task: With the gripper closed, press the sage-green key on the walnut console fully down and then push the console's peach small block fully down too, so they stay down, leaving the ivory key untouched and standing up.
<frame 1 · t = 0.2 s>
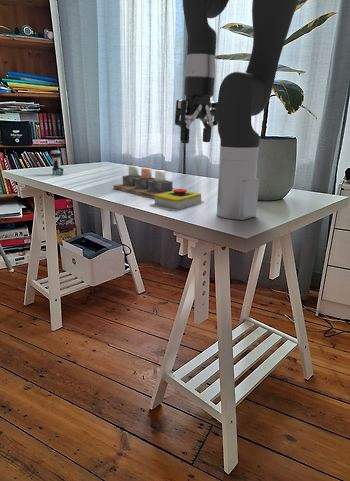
hand: (195, 142, 91), 17 cm above the table, tool pointing down, fingers open, 8 cm apart
sage key: (133, 172, 119), point 6 cm above the table, slide at 0.0 cm
emergency button: (177, 205, 100), on the table
peach small block: (146, 174, 114), point 6 cm above the table, slide at 0.0 cm
ivory key: (160, 177, 109), point 5 cm above the table, slide at 0.0 cm
console: (146, 190, 116), on the table
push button: (59, 175, 147), on the table
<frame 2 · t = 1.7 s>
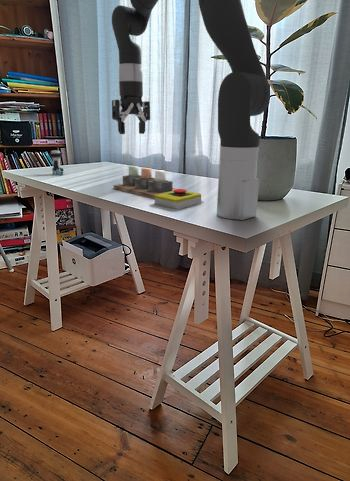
hand: (132, 133, 115), 18 cm above the table, tool pointing down, fingers open, 8 cm apart
nothing on the table moved.
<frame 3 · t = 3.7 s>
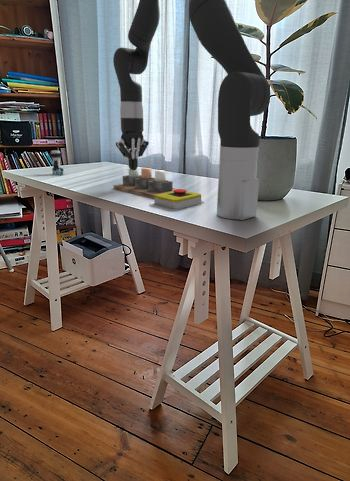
hand: (133, 169, 119), 6 cm above the table, tool pointing down, fingers closed
sage key: (133, 175, 119), point 4 cm above the table, slide at 1.1 cm, touching gripper
everything else where it was.
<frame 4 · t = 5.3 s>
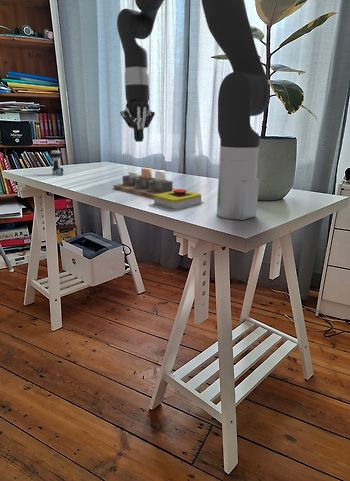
hand: (139, 141, 113), 16 cm above the table, tool pointing down, fingers closed
sage key: (133, 178, 120), point 3 cm above the table, slide at 2.0 cm
everything else where it was.
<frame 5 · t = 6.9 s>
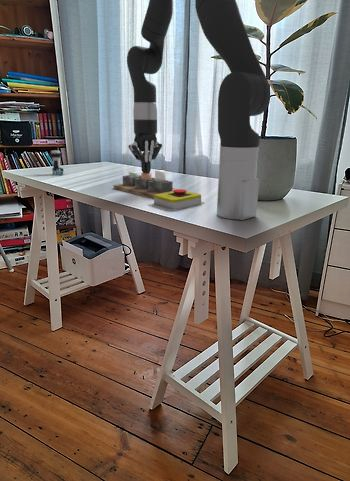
hand: (146, 173, 114), 6 cm above the table, tool pointing down, fingers closed
peach small block: (146, 179, 115), point 4 cm above the table, slide at 1.5 cm, touching gripper
everything else where it was.
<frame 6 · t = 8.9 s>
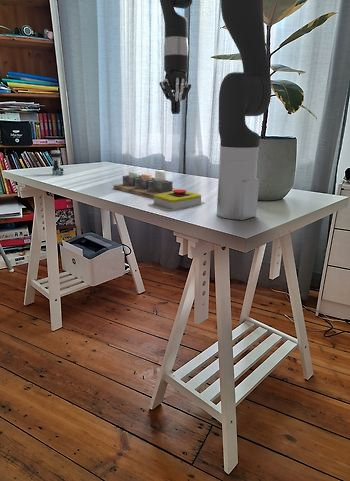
hand: (175, 113, 113), 25 cm above the table, tool pointing down, fingers closed
peach small block: (146, 180, 115), point 3 cm above the table, slide at 2.0 cm
everything else where it was.
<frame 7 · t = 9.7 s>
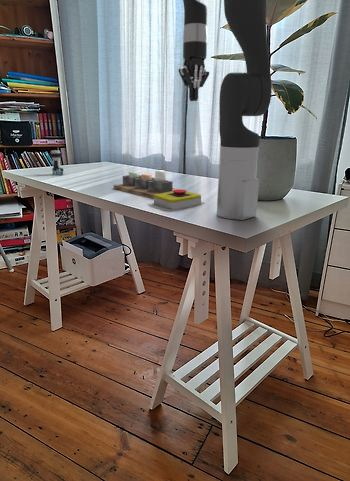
hand: (193, 100, 114), 29 cm above the table, tool pointing down, fingers closed
nothing on the table moved.
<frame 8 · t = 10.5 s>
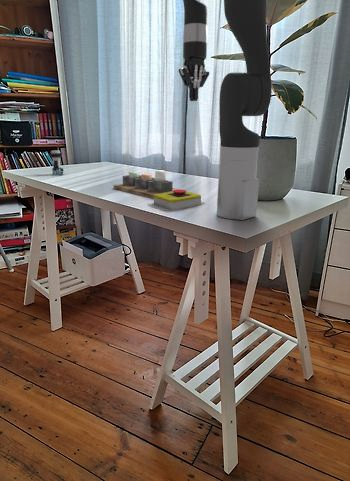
hand: (193, 100, 114), 29 cm above the table, tool pointing down, fingers closed
nothing on the table moved.
at the end: sage key slide at 2.0 cm; peach small block slide at 2.0 cm; ivory key slide at 0.0 cm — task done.
